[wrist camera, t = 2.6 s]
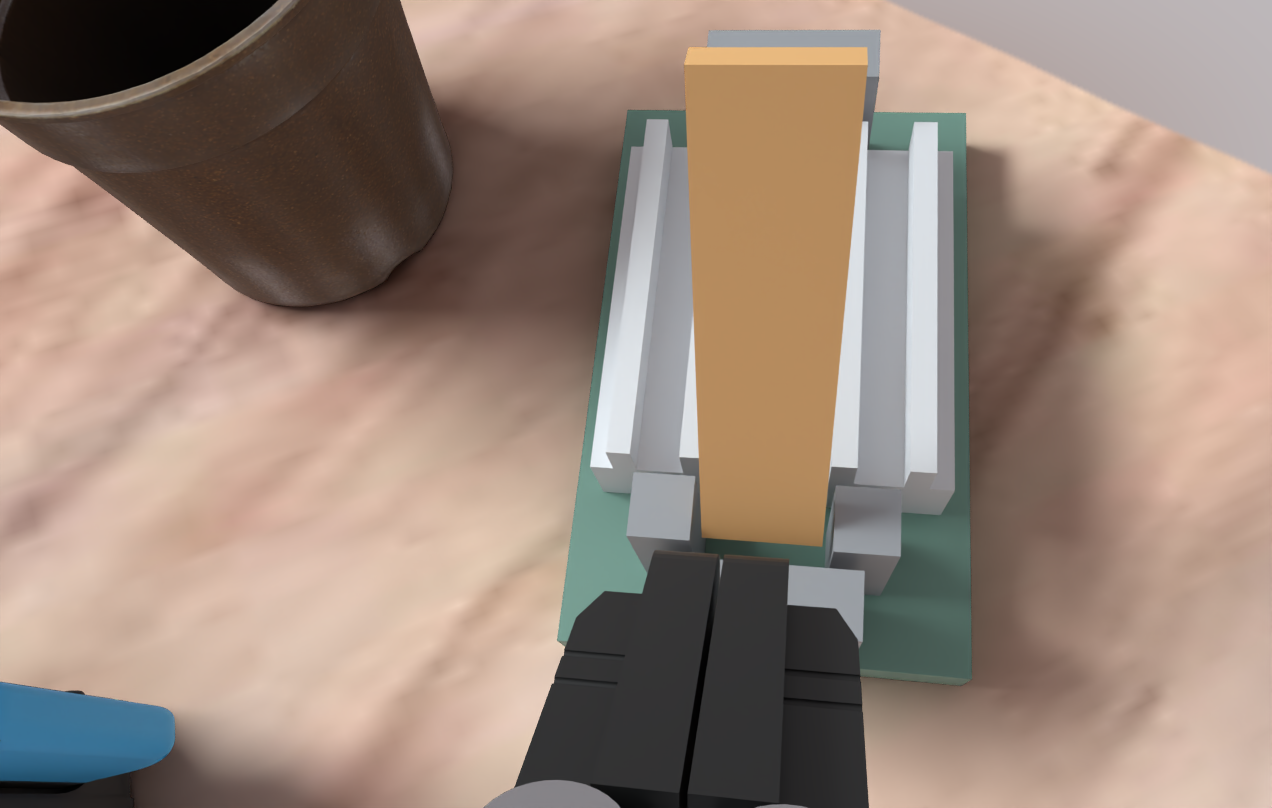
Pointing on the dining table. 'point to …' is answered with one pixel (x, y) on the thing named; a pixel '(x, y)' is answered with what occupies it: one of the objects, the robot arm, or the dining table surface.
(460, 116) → the dining table surface
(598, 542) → the base
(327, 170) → the plant pot
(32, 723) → the game console
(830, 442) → the retention strap
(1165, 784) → the dining table surface
